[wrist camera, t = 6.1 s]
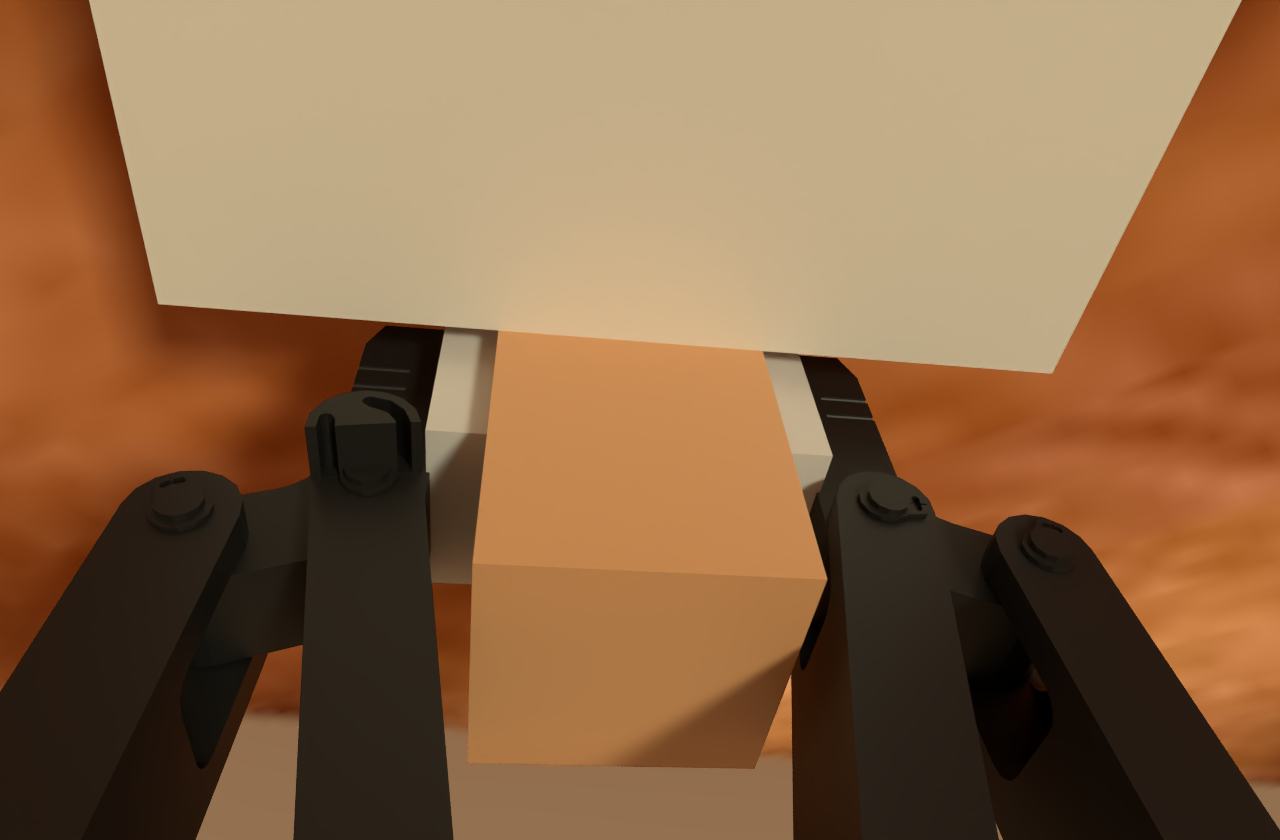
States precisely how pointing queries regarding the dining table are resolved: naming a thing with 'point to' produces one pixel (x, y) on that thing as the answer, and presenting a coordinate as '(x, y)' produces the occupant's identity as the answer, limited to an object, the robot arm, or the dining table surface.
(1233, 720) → the dining table surface
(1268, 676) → the dining table surface
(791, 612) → the lid
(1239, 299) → the dining table surface
